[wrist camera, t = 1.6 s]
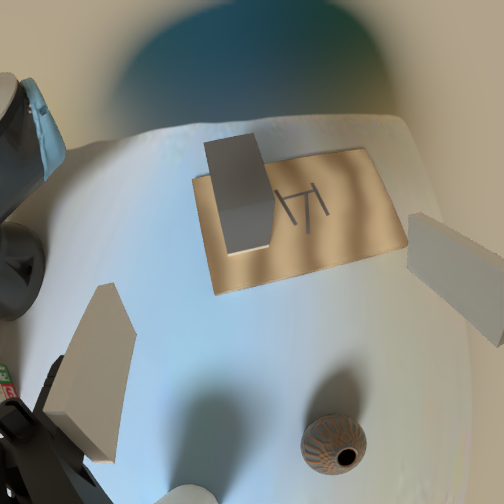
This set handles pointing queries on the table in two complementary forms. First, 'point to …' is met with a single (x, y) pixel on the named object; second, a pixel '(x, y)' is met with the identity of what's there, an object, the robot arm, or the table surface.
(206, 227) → the board
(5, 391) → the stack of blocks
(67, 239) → the table surface
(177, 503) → the foam cup
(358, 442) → the vase
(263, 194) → the block
